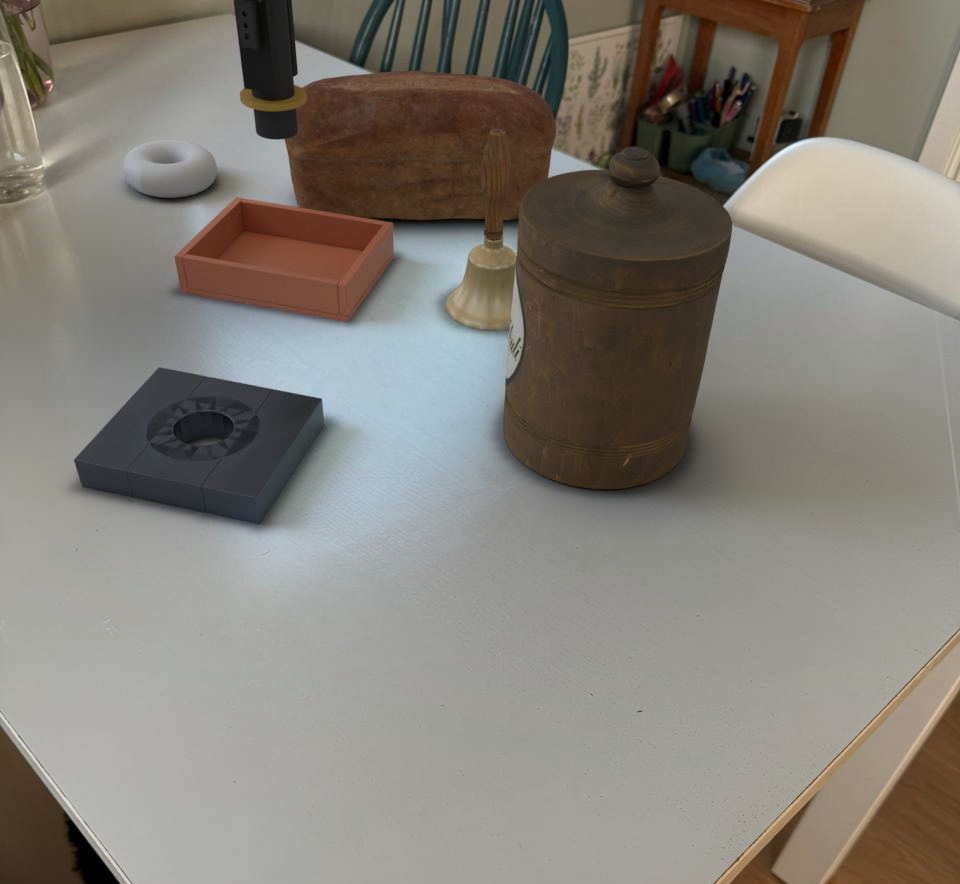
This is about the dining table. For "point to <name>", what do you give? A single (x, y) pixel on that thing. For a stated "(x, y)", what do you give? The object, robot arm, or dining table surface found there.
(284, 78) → the plug
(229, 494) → the drain plate
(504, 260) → the hand bell
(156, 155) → the donut
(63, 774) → the dining table surface
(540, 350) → the wooden container
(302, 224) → the terracotta tray
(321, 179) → the bread
